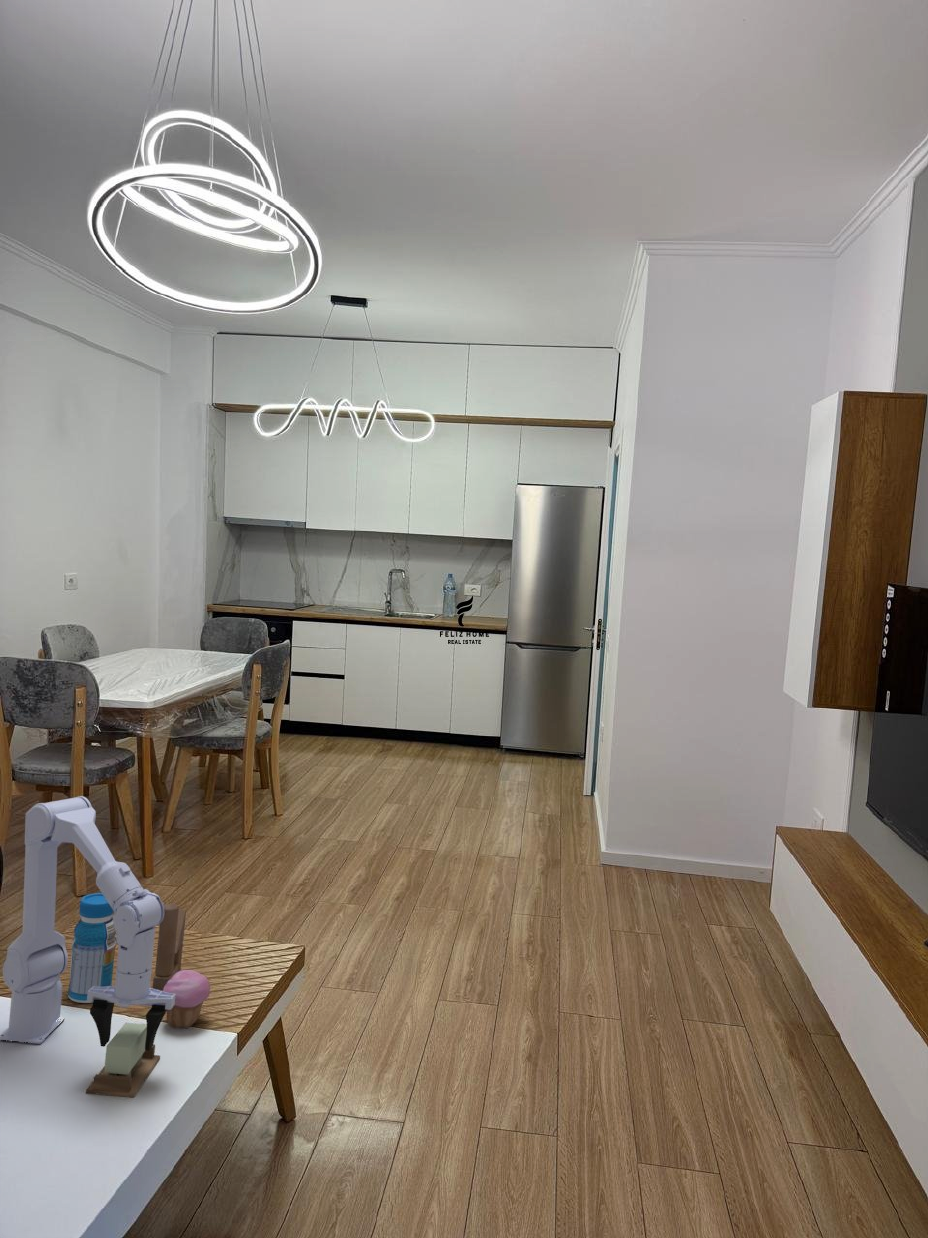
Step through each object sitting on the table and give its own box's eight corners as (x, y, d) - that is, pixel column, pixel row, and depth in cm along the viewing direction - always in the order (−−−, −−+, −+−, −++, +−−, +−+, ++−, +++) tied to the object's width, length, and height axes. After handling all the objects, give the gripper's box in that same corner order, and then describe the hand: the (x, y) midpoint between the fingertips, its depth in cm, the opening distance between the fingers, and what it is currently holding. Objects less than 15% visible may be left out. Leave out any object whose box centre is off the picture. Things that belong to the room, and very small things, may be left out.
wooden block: (180, 973, 184) (187, 892, 184) (169, 995, 174) (177, 909, 174) (163, 972, 184) (170, 891, 184) (151, 995, 173) (159, 909, 173)
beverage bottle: (73, 1008, 165) (82, 908, 165) (61, 991, 171) (70, 894, 171) (117, 999, 170) (126, 901, 170) (104, 982, 177) (113, 889, 177)
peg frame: (115, 1055, 150) (116, 1040, 150) (159, 1059, 150) (161, 1044, 150) (85, 1093, 138) (87, 1077, 138) (133, 1097, 138) (135, 1082, 138)
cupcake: (174, 1009, 168) (179, 960, 168) (214, 1017, 166) (219, 967, 166) (151, 1030, 159) (155, 978, 159) (192, 1038, 158) (197, 986, 158)
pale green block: (123, 1048, 148) (125, 1022, 148) (145, 1050, 148) (148, 1024, 148) (104, 1072, 140) (106, 1046, 140) (127, 1074, 140) (130, 1048, 140)
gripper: (81, 973, 140) (74, 1054, 140) (168, 981, 140) (160, 1061, 140) (99, 956, 147) (92, 1033, 147) (182, 963, 147) (174, 1040, 147)
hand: (127, 1045), depth 144 cm, fingers open, 7 cm apart
